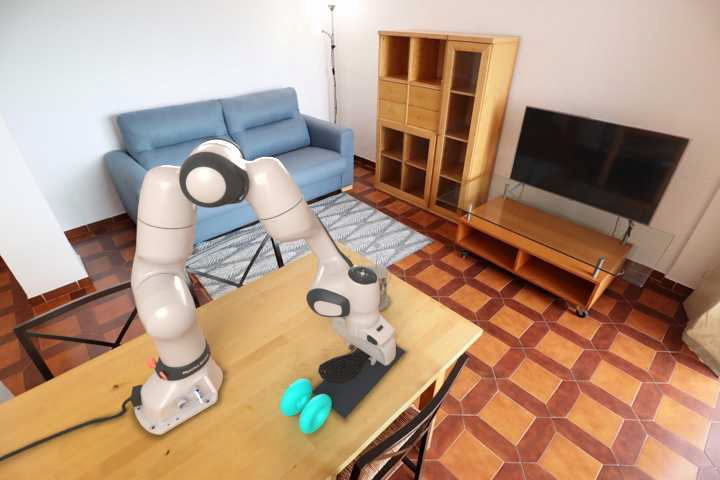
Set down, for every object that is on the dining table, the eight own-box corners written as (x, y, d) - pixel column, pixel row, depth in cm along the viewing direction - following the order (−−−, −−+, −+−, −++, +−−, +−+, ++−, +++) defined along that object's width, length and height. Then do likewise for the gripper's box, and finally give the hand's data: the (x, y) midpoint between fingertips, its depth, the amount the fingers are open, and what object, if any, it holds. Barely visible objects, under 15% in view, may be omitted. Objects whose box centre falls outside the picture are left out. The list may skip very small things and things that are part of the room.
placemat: (344, 418, 95) (344, 418, 95) (312, 392, 101) (312, 391, 101) (405, 352, 113) (405, 351, 113) (374, 333, 120) (374, 332, 119)
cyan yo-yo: (308, 392, 101) (305, 369, 96) (334, 414, 96) (333, 390, 91) (279, 419, 95) (275, 395, 90) (306, 443, 90) (303, 420, 84)
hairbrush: (404, 345, 106) (326, 382, 94) (403, 354, 108) (326, 391, 96) (387, 327, 112) (312, 360, 100) (386, 336, 114) (313, 369, 102)
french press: (355, 300, 133) (355, 242, 119) (378, 286, 139) (381, 230, 125) (374, 314, 126) (376, 255, 113) (397, 299, 133) (402, 242, 119)
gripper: (324, 309, 100) (327, 343, 107) (386, 347, 89) (383, 382, 97) (340, 297, 104) (341, 331, 111) (400, 332, 93) (397, 367, 101)
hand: (361, 355), depth 104 cm, fingers closed on hairbrush, 6 cm apart
